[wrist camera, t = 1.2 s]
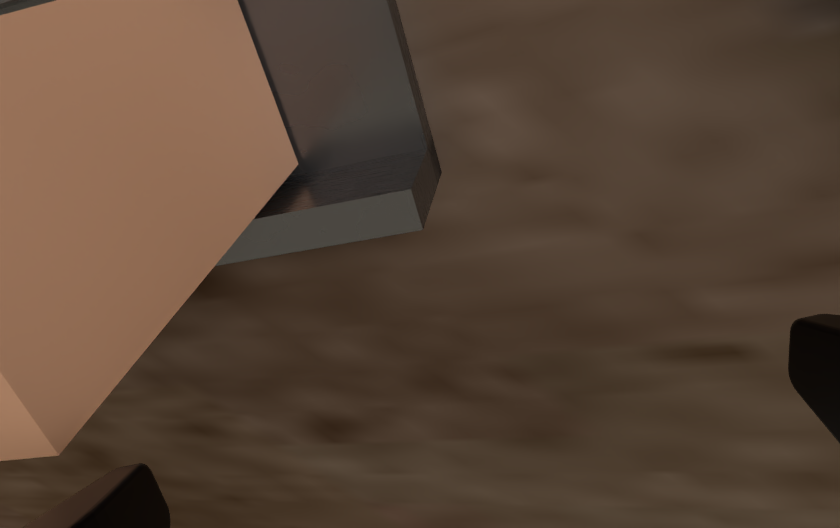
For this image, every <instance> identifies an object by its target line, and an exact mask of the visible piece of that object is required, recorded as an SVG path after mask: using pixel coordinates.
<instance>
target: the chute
mask: <svg viewBox="0 0 840 528" xmlns="http://www.w3.org/2000/svg"><path fill="white" fill-rule="evenodd" d="M52 1H56V0H0V15H3V14H7V13H11V12H14V11H18V10H22V9H26V8H29V7H33V6H37V5H41V4H45V3H48V2H52ZM238 3H239V6H240V8H241V11H242V14H243V16H244V19H245V22H246V24H247V27H248V30H249V32H250V35H251V38H252V40H253V43H254V46H255V49H256V51H257V54H258V57H259V59H260V62H261V65H262V67H263V70H264V73H265V75H266V78H267V81H268V83H269V86H270V89H271V92H272V94H273V97H274V100H275V102H276V105H277V108H278V110H279V113H280V116H281V118H282V121H283V124H284V126H285V129H286V132H287V134H288V137H289V140H290V143H291V145H292V148H293V151H294V153H295V156H296V159H297V161H298V165H297V167H296V168H295V169H294V170H293V171H292V173H291V174H290V175H289V176H288V178H287V179H286V180H285V181H284V182H283V184H282V185H281V186H280V187H279V188H278V190H277V191H276V192H275V193H274V195H273V196H272V197H271V198H270V199H269V201H268V202H267V203H266V204H265V205H264V207H263V208H262V209H261V210H260V212H259V213H258V214H257V215H256V216H255V218H254V219H253V220H252V221H251V222H250V224H249V225H248V226H247V227H246V229H245V230H244V231H243V232H242V233H241V235H240V236H239V237H238V238H237V239H236V241H235V242H234V243H233V244H232V246H231V247H230V248H229V249H228V250H227V252H226V253H225V254H224V255H223V256H222V258H221V259H220V260H219V261H218V263H217V264H216V265H215V266H218V265H224V264H229V263H235V262H241V261H247V260H252V259H258V258H264V257H270V256H275V255H281V254H287V253H293V252H298V251H304V250H310V249H316V248H321V247H327V246H333V245H339V244H344V243H350V242H356V241H362V240H367V239H373V238H379V237H385V236H390V235H396V234H402V233H408V232H413V231H419V230H423V228H424V225H425V222H426V219H427V216H428V213H429V210H430V206H431V203H432V200H433V197H434V194H435V191H436V188H437V185H438V182H439V179H440V176H441V173H442V172H441V168H440V165H439V161H438V157H437V153H436V150H435V146H434V142H433V139H432V135H431V131H430V127H429V124H428V120H427V116H426V112H425V109H424V105H423V101H422V98H421V94H420V90H419V86H418V83H417V79H416V75H415V71H414V68H413V64H412V60H411V56H410V53H409V49H408V45H407V42H406V38H405V34H404V30H403V27H402V23H401V19H400V15H399V12H398V8H397V4H396V1H395V0H238Z"/></svg>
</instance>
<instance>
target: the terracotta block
mask: <svg viewBox="0 0 840 528" xmlns="http://www.w3.org/2000/svg"><path fill="white" fill-rule="evenodd" d="M297 165H298V161H297V159H296V156H295V153H294V151H293V148H292V145H291V143H290V140H289V137H288V134H287V132H286V129H285V126H284V124H283V121H282V118H281V116H280V113H279V110H278V108H277V105H276V102H275V100H274V97H273V94H272V92H271V89H270V86H269V83H268V81H267V78H266V75H265V73H264V70H263V67H262V65H261V62H260V59H259V57H258V54H257V51H256V49H255V46H254V43H253V40H252V38H251V35H250V32H249V30H248V27H247V24H246V22H245V19H244V16H243V14H242V11H241V8H240V6H239V3H238V0H56V1H52V2H48V3H45V4H41V5H37V6H33V7H29V8H26V9H22V10H18V11H14V12H11V13H7V14H3V15H0V461H7V460H17V459H27V458H38V457H48V456H58V455H59V454H60V453H61V452H62V451H63V450H64V448H65V447H66V446H67V445H68V444H69V442H70V441H71V440H72V439H73V437H74V436H75V435H76V434H77V433H78V431H79V430H80V429H81V428H82V427H83V425H84V424H85V423H86V422H87V420H88V419H89V418H90V417H91V416H92V414H93V413H94V412H95V411H96V410H97V408H98V407H99V406H100V405H101V403H102V402H103V401H104V400H105V399H106V397H107V396H108V395H109V394H110V393H111V391H112V390H113V389H114V388H115V386H116V385H117V384H118V383H119V382H120V380H121V379H122V378H123V377H124V376H125V374H126V373H127V372H128V371H129V369H130V368H131V367H132V366H133V365H134V363H135V362H136V361H137V360H138V359H139V357H140V356H141V355H142V354H143V352H144V351H145V350H146V349H147V348H148V346H149V345H150V344H151V343H152V342H153V340H154V339H155V338H156V337H157V335H158V334H159V333H160V332H161V331H162V329H163V328H164V327H165V326H166V325H167V323H168V322H169V321H170V320H171V318H172V317H173V316H174V315H175V314H176V312H177V311H178V310H179V309H180V308H181V306H182V305H183V304H184V303H185V301H186V300H187V299H188V298H189V297H190V295H191V294H192V293H193V292H194V291H195V289H196V288H197V287H198V286H199V284H200V283H201V282H202V281H203V280H204V278H205V277H206V276H207V275H208V274H209V272H210V271H211V270H212V269H213V267H214V266H215V265H216V264H217V263H218V261H219V260H220V259H221V258H222V256H223V255H224V254H225V253H226V252H227V250H228V249H229V248H230V247H231V246H232V244H233V243H234V242H235V241H236V239H237V238H238V237H239V236H240V235H241V233H242V232H243V231H244V230H245V229H246V227H247V226H248V225H249V224H250V222H251V221H252V220H253V219H254V218H255V216H256V215H257V214H258V213H259V212H260V210H261V209H262V208H263V207H264V205H265V204H266V203H267V202H268V201H269V199H270V198H271V197H272V196H273V195H274V193H275V192H276V191H277V190H278V188H279V187H280V186H281V185H282V184H283V182H284V181H285V180H286V179H287V178H288V176H289V175H290V174H291V173H292V171H293V170H294V169H295V168H296V167H297Z"/></svg>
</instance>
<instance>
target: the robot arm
mask: <svg viewBox="0 0 840 528" xmlns="http://www.w3.org/2000/svg"><path fill="white" fill-rule="evenodd" d="M788 371H789V377H790V380H791V383H792V384H793V386H794V388H795V390H796V391H797V392H798V394H799V395H800V396H801V397H802V398H803V400H804V401H805V402H806V403H807V404H808V406H809V407H810V408H811V409H812V410H813V412H814V413H815V414H816V415H817V416H818V418H819V419H820V420H821V421H822V422H823V424H824V425H825V426H826V427H827V428H828V430H829V431H830V432H831V433H832V434H833V436H834V437H835V438H836V439H837V441H838V442H839V443H840V315H832V314H818V315H813V316H809V317H804V318H800V319H797V320H795V321H794V323H793V324H792V326H791V330H790V345H789V364H788ZM22 528H170V513H169V509H168V506H167V504H166V501H165V499H164V497H163V495H162V493H161V491H160V489H159V486H158V484H157V482H156V480H155V478H154V476H153V473H152V471H151V470H150V468H149V467H148V466H147V465H145V464H143V463H139V464H134V465H130V466H125V467H120V468H117V469H115V470H112V471H111V472H109V473H108V474H106V475H104V476H103V477H101V478H100V479H98V480H97V481H95V482H93V483H92V484H90V485H89V486H87V487H86V488H84V489H82V490H81V491H79V492H78V493H76V494H75V495H73V496H71V497H70V498H68V499H67V500H65V501H63V502H62V503H60V504H59V505H57V506H56V507H54V508H52V509H51V510H49V511H48V512H46V513H45V514H43V515H41V516H40V517H38V518H37V519H35V520H34V521H32V522H30V523H29V524H27V525H26V526H24V527H22Z"/></svg>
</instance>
